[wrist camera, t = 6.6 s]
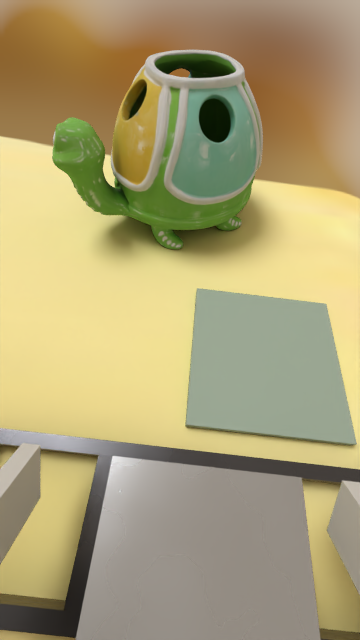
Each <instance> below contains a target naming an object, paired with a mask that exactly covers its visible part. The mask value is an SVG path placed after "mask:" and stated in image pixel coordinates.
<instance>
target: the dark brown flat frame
mask: <svg viewBox="0 0 360 640" xmlns="http://www.w3.org/2000/svg"><path fill="white" fill-rule="evenodd" d="M22 443H27V444H36V445H40V450H46V451H55V452H63V453H72V454H81V455H89V456H98V460H97V465H96V469H95V473H94V478H93V482H92V487H91V491H90V495H89V500H88V504H87V509H86V513H85V518H84V522H83V526H82V531H81V535H80V540H79V544H78V549H77V553H76V557H75V562H74V566H73V571H72V575H71V580H70V584H69V588H68V593H67V597H66V601H64V600H54V599H45V598H36V597H27V596H18V595H9V594H0V630H8V631H18V632H27V633H36V634H45V635H55V636H64V637H73V638H76V635H77V630H78V625H79V620H80V615H81V610H82V605H83V600H84V595H85V590H86V585H87V580H88V575H89V570H90V565H91V560H92V556H93V551H94V546H95V541H96V536H97V531H98V526H99V521H100V516H101V511H102V506H103V501H104V496H105V491H106V486H107V481H108V476H109V471H110V466H111V461H112V457H113V456H118V457H127V458H136V459H145V460H153V461H162V462H171V463H180V464H188V465H197V466H206V467H214V468H223V469H232V470H241V471H249V472H258V473H267V474H276V475H284V476H293V477H302V480H307V481H316V482H325V483H334V484H341V483H342V480H343V481H352V482H360V470H358V469H350V468H341V467H332V466H324V465H315V464H306V463H298V462H289V461H280V460H272V459H263V458H254V457H246V456H237V455H228V454H220V453H211V452H202V451H194V450H185V449H176V448H167V447H159V446H150V445H141V444H133V443H124V442H115V441H107V440H98V439H89V438H81V437H72V436H63V435H55V434H46V433H37V432H29V431H20V430H11V429H3V428H0V445H2V446H11V447H20V445H21V444H22ZM319 631H320V640H360V633H355V632H346V631H337V630H328V629H319Z"/></svg>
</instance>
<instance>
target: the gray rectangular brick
mask: <svg viewBox="0 0 360 640" xmlns="http://www.w3.org/2000/svg"><path fill="white" fill-rule="evenodd" d="M76 640H320V631H319V623H318V614H317V605H316V597H315V588H314V579H313V571H312V562H311V553H310V545H309V536H308V527H307V519H306V510H305V501H304V493H303V484H302V477H293V476H284V475H276V474H267V473H258V472H249V471H241V470H232V469H223V468H214V467H206V466H197V465H188V464H180V463H171V462H162V461H153V460H145V459H136V458H127V457H118V456H113V457H112V461H111V466H110V471H109V476H108V481H107V486H106V491H105V496H104V501H103V506H102V511H101V516H100V521H99V526H98V531H97V536H96V541H95V546H94V551H93V556H92V560H91V565H90V570H89V575H88V580H87V585H86V590H85V595H84V600H83V605H82V610H81V615H80V620H79V625H78V630H77V635H76Z"/></svg>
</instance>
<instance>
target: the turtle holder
mask: <svg viewBox="0 0 360 640" xmlns="http://www.w3.org/2000/svg"><path fill="white" fill-rule="evenodd" d="M179 68H183V69H186V70H188V71H189V72H190V75H189V77H188V78H184V77H177V76H172V75H168V74H169V73H171V72H172V71H174V70H176V69H179ZM53 144H54V148H53V157H52V159H53V162H54V164H55V165H56V166H57V167H58V168H59V169H61V170H62V171H64V172H65V173H67V174H68V175H69V177H70V178H71V180H72V182H73V184H74V187H75V188H76V189H77V192H78V194H79V195H80V196H81V198H82V199H83V200H84V201H85V202H86V204H87V205H88V206H89V207H91V208H92V209H93V210H94V211H96V212H100V213H101V214H103V215H124V216H128V217H132V218H134V219H136V220H138V221H141V222H143V223H146V224H149V225H151V228H152V232H153V235H154V237H155V238H156V240H157V241H158V243H160V244H161V245H162V246H164V247H166V248H169V249H180V248H182V247H183V241H182V240H181V238H180V237H179V236H177V235H176V234H175V233H174V232H173V230H194V229H203V228H208V227H212V226H216V227H217V228H218V229H221V230H227V231H229V230H234V229H237V228H239V227H240V226H241V223H242V222H241V219H239V218H238V217H236V216H235V215H237V214H238V213H239V212H240V211H241V210H242V209H243V207H244V206H245V205H246V203H247V201H248V199H249V197H250V194H251V185H252V183H253V180H254V177H255V173H256V170H257V169H259V167H260V165H261V160H262V146H263V133H262V123H261V118H260V114H259V110H258V108H257V105H256V102H255V100H254V97H253V94H252V92H251V90H250V87H249V85H248V83H247V81H246V79H245V74H244V68H243V67H242V65H241V64H240V63H239V62H238V61H236V60H235V59H233V58H231V57H230V56H228V55H225V54H223V53H219V52H214V51H207V50H176V51H168V52H162V53H157V54H154V55H151V56H149V57H148V58H147V60H146V63H145V65H144V66H143V67H142V68H141V69H140V70H139V72H138V74H137V75H136V77H135V79H134V81H133V83H132V85H131V87H130V88H129V90H128V92H127V93H126V95H125V97H124V99H123V102H122V104H121V107H120V109H119V113H118V115H117V119H116V124H115V129H114V136H113V148H112V153H111V167H112V170H113V174H114V176H115V188H114V187H112V186H110V185H109V184H108V182H107V181H106V179H105V177H104V173H103V163H104V158H105V148H104V145H103V143H102V141H101V140H100V139H99V137H98V136H97V134H96V132H95V131H94V129H93V128H92V127H91V125H90V124H88V123H87V122H85V121H82V120H79V119H77V118H69V119H67V120H66V121H64V122H63V123H60V124H57V126H56V131H55V133H54V136H53Z"/></svg>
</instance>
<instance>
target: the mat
mask: <svg viewBox="0 0 360 640" xmlns="http://www.w3.org/2000/svg"><path fill="white" fill-rule="evenodd" d="M185 426H187V427H196V428H204V429H213V430H221V431H230V432H239V433H247V434H256V435H264V436H273V437H282V438H290V439H299V440H308V441H316V442H325V443H333V444H342V445H356V444H357V443H356V439H355V434H354V430H353V425H352V420H351V416H350V411H349V407H348V402H347V397H346V393H345V388H344V384H343V379H342V374H341V370H340V365H339V361H338V356H337V351H336V347H335V342H334V338H333V333H332V328H331V324H330V319H329V315H328V310H327V305H326V304H323V303H315V302H306V301H298V300H290V299H281V298H273V297H265V296H257V295H248V294H240V293H232V292H223V291H215V290H207V289H199V288H197V292H196V304H195V316H194V328H193V340H192V352H191V364H190V377H189V389H188V401H187V413H186V425H185Z"/></svg>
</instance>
